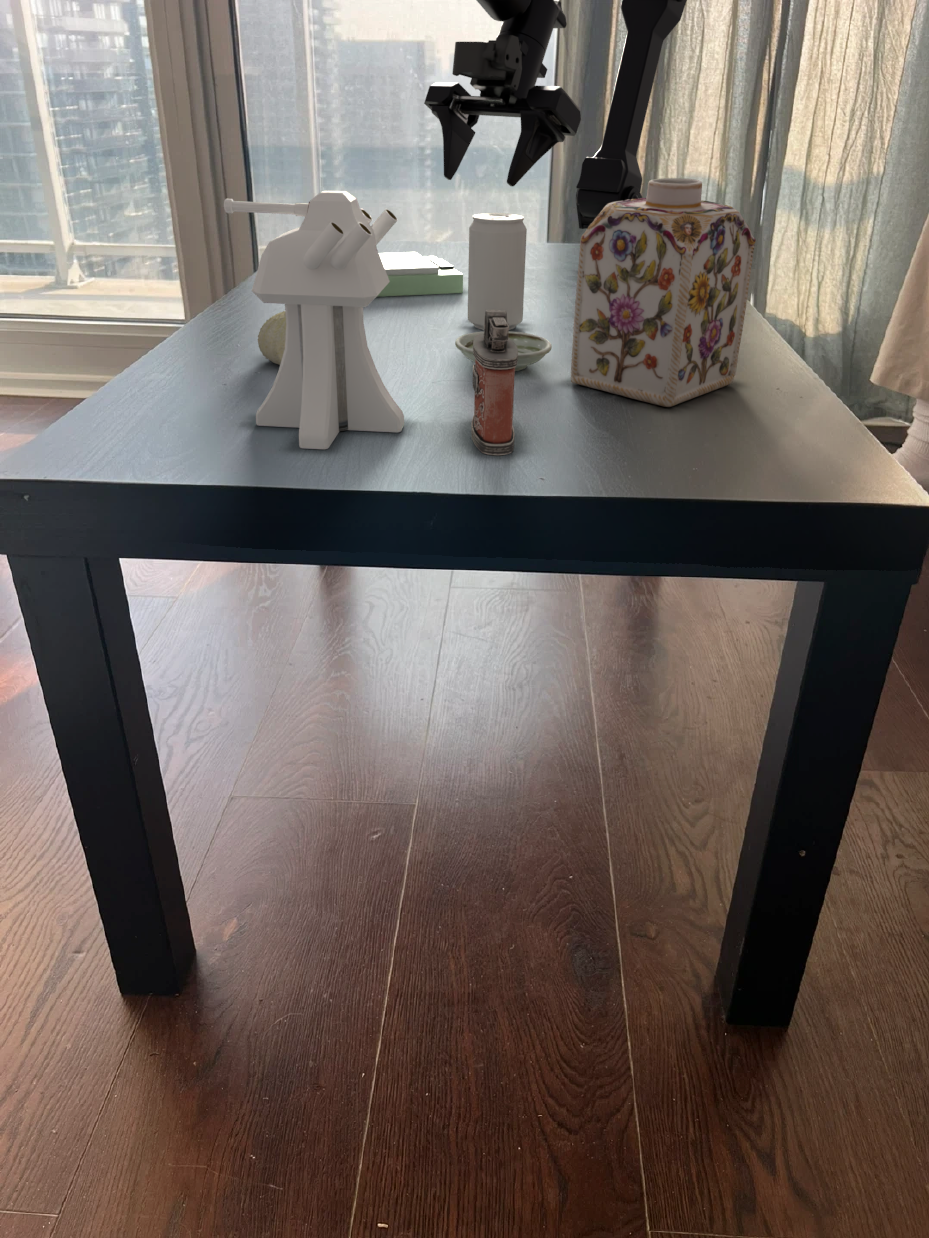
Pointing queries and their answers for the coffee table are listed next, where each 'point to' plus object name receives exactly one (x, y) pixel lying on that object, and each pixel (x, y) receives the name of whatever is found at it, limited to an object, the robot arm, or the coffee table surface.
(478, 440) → the lighter
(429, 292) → the scale
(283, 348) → the sea urchin shell
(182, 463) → the coffee table surface
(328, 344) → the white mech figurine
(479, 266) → the beverage can
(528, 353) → the saucer
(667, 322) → the decorative jar
